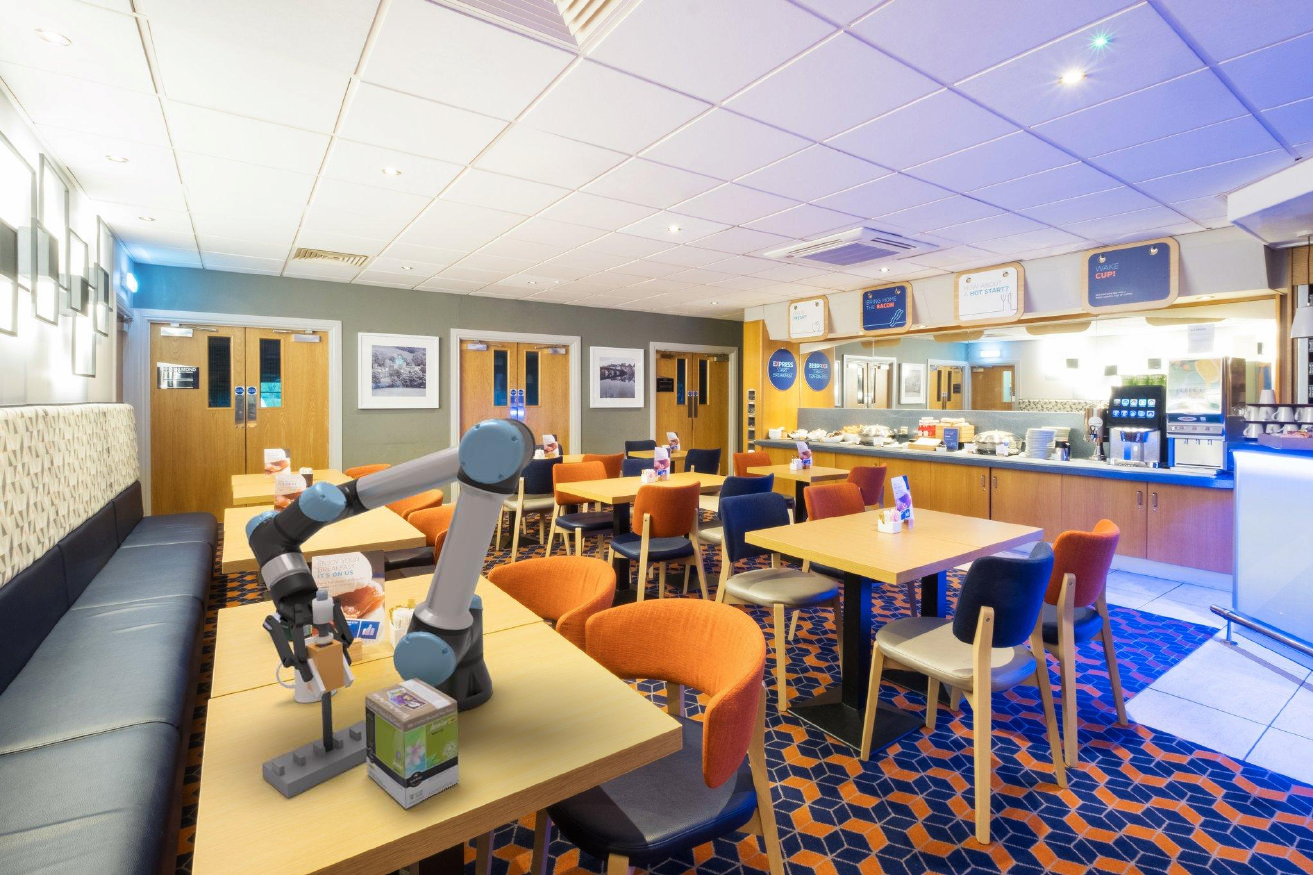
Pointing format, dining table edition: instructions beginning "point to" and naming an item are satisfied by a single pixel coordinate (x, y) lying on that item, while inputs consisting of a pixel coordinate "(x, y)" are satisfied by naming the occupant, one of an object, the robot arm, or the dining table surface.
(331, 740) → the rod stand with pegs
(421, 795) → the tea box
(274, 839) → the dining table surface
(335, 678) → the marker sleeve
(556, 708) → the dining table surface
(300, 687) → the mug
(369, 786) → the dining table surface
